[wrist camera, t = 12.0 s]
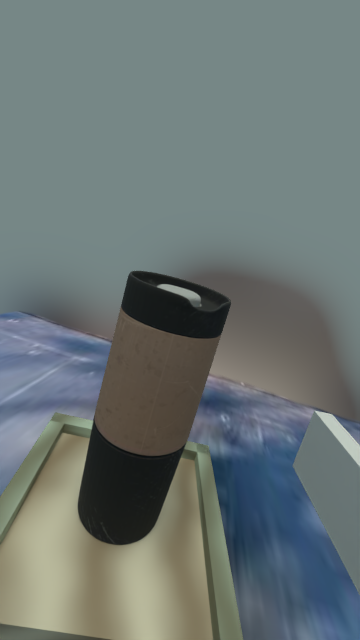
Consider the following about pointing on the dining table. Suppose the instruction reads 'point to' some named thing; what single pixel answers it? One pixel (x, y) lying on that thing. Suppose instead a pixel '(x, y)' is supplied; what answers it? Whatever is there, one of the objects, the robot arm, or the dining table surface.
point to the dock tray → (111, 555)
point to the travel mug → (147, 402)
